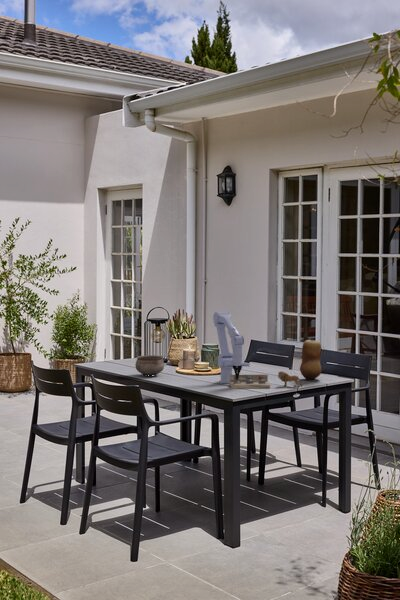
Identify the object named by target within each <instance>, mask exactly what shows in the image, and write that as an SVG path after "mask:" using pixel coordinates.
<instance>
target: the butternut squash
mask: <svg viewBox="0 0 400 600" xmlns="http://www.w3.org/2000/svg"><path fill="white" fill-rule="evenodd" d="M301 348H302V349H301V363H300V366H299V371H300V375H301V376H303V378H304V379H306V381H309V380H310V381H311V380H315V379H317V378H319V376H320V375H321V373H322V366H321V361H320V360H321V353H322V344H321V342H320V341H319V340H313V339H307V340H304V341H303V344H302V347H301Z"/></svg>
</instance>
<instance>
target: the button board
mask: <svg viewBox="0 0 400 600" xmlns="http://www.w3.org/2000/svg"><path fill="white" fill-rule="evenodd" d="M268 377H269V376H268V374H239V378H238V379H236V375H235V374H232V375H230V383H229V387H230V388H231V389H271V384H270V382H269V380H268ZM261 379H263V380H265V383H259V380H261ZM247 380H253V383H252V384H247ZM236 381H238V382H240V384H234V382H236Z"/></svg>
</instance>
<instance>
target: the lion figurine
mask: <svg viewBox="0 0 400 600" xmlns="http://www.w3.org/2000/svg"><path fill="white" fill-rule="evenodd" d="M277 378H278V379H279V380H281V382H284V384H283V387H287V385H288V382H289V383H292V382H294V383H295V384H294V385H293V386H294V387H297V388H299V387H300V386H301V387H304V386H303V384H301V381H300V378H299V376H297V375H295V374H294V375H289V374H288V373H286V372H285V371H282V370H281V371H279V372H278V374H277Z"/></svg>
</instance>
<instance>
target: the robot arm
mask: <svg viewBox="0 0 400 600" xmlns="http://www.w3.org/2000/svg"><path fill="white" fill-rule="evenodd" d="M212 320H213V325H214V327H216V331H217V338H218V343H219V349H220V354H219V355H218V356H217V365H218V367H219V369H220V380H219V383H220V384H230V375H233V371H234V375H236V379H238V378H239V375H241V372H242V369H243V367H248V368H249V367H250V362H243V345H244V344H245V338H244V336H243V334H242V335H241V334H240V333H239V331H238V329H237V328H236V327H234V325H233V323H232V315H231V313H230V311H215V312H214V314H213V317H212ZM226 330H227V333H226ZM227 334H228V335H229V338H230V344H231V349H232V352H230V349H229V343H228V338H227Z"/></svg>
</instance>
